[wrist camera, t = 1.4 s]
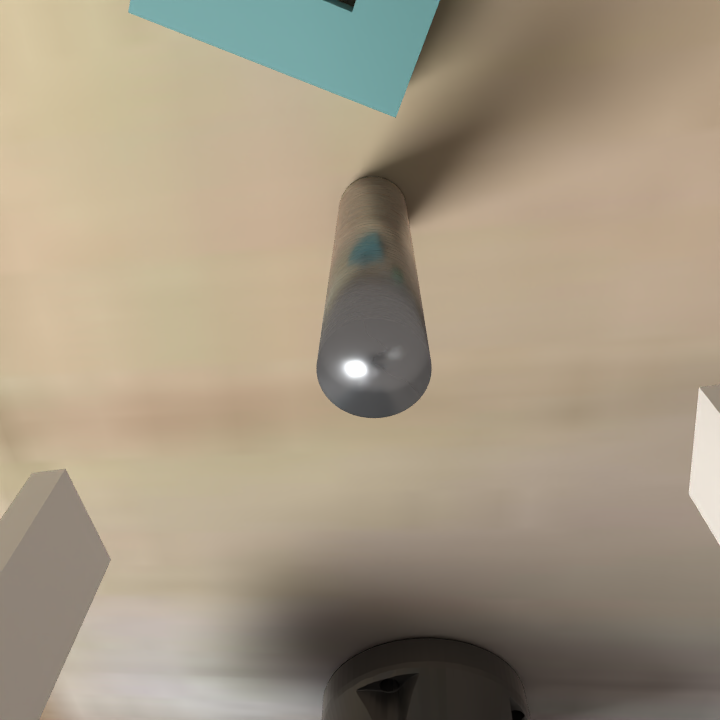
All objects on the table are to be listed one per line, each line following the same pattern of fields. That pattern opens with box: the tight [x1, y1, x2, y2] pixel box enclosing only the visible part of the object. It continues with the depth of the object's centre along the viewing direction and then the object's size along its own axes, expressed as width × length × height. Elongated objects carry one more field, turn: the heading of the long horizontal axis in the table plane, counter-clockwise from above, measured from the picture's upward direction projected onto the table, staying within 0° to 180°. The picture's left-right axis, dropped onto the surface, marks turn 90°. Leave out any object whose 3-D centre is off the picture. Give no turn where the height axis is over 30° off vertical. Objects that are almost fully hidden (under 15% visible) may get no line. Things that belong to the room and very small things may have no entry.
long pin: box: [317, 176, 431, 418], centre depth 25 cm, size 3×3×15 cm
